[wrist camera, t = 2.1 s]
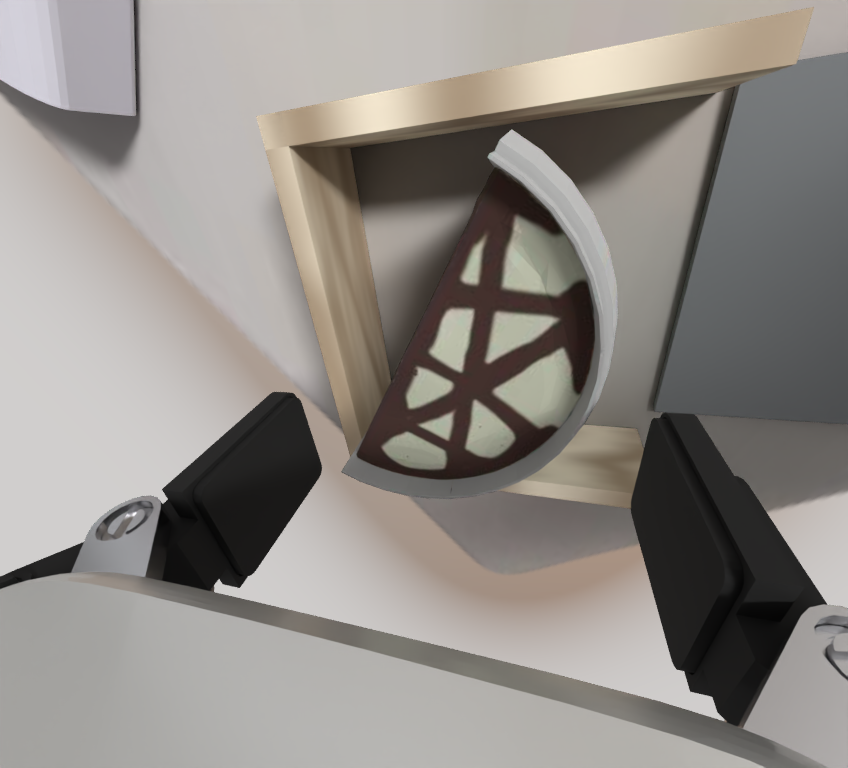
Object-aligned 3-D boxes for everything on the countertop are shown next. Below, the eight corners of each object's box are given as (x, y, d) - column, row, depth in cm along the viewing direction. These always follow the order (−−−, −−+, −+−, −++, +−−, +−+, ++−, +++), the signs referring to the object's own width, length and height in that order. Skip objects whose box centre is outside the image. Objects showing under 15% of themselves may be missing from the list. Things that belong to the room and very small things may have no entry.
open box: (726, 55, 12) (814, 6, 8) (633, 442, 21) (654, 511, 17) (326, 125, 17) (256, 116, 13) (385, 420, 25) (354, 471, 21)
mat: (1197, -4, 10) (1220, -9, 9) (900, 422, 17) (908, 428, 16) (739, 71, 12) (744, 69, 12) (652, 407, 20) (654, 411, 19)
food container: (501, 409, 22) (475, 555, 14) (413, 361, 22) (337, 480, 14) (655, 212, 15) (780, 279, 7) (526, 139, 15) (502, 123, 7)
